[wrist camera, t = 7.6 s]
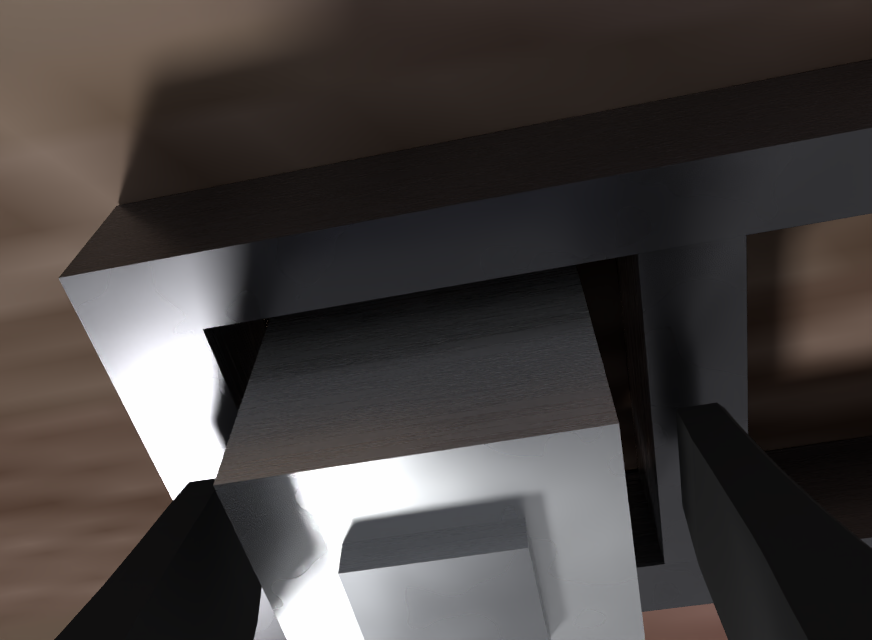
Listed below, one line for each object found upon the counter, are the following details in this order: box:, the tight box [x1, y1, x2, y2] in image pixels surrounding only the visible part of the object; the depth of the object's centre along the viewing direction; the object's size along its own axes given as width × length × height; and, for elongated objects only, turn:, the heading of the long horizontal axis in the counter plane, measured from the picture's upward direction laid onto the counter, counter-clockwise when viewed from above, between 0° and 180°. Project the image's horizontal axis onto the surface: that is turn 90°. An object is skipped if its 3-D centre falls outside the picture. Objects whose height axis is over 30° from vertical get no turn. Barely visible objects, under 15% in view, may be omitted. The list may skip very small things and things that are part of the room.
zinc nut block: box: [213, 265, 645, 640], centre depth 13 cm, size 5×5×6 cm
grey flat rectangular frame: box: [59, 59, 872, 640], centre depth 14 cm, size 18×9×2 cm, turn 102°
